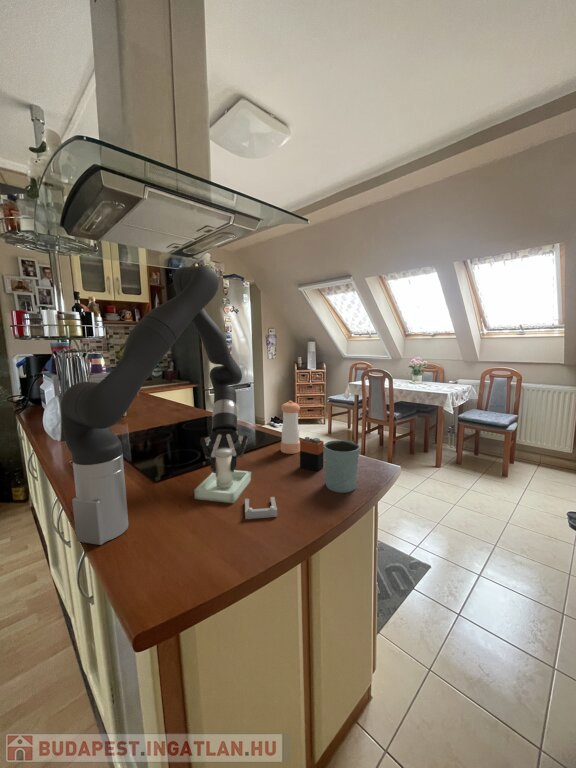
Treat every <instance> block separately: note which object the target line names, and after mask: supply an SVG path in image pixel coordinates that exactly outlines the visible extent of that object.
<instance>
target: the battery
mask: <svg viewBox="0 0 576 768" xmlns="http://www.w3.org/2000/svg"><path fill="white" fill-rule="evenodd" d="M299 441H300V452H299V467H300V468H302V469H306V470H311V471H313V472H314V471H315V472H318V471H320V470H321V469H323V468H324V456H325V455H324V444H325V442H324V441H323V440H320V438H318V437H314V438H310V437H309V436H305V437H304V439H302V440H299Z"/></svg>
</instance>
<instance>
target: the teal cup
mask: <svg viewBox="0 0 576 768" xmlns="http://www.w3.org/2000/svg"><path fill="white" fill-rule="evenodd" d="M360 448H361V446H360V445H359V444H358V443H355V442H353V441H348V440H330V441H327V442H324V455H323V456H324V473H325V474H324V475H325V478H324V479H325V486H326V488H327V489H328V490H330V491H332V492H335V493H340V494H344V493H345V494H346V493H350V492H352V491H354V490H356V487H357V473H358V467H359V463H358V462H359V456H360Z"/></svg>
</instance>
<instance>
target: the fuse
mask: <svg viewBox="0 0 576 768" xmlns="http://www.w3.org/2000/svg"><path fill="white" fill-rule="evenodd" d="M215 456H216V462H215V465H216V478H217V480H216V485H217V487H220V488H227V487H230V486H232V485H233V478H232V472H231V459H232V449H231V448H228V447H223V448H218V449H216V450H215Z"/></svg>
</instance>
